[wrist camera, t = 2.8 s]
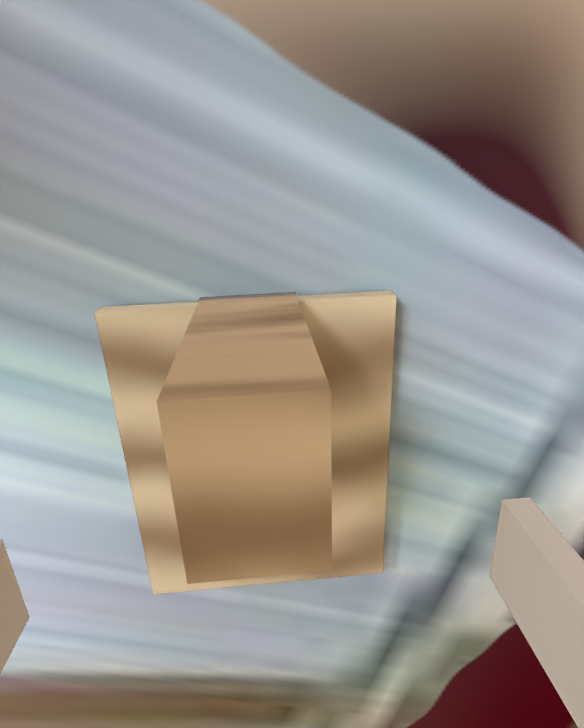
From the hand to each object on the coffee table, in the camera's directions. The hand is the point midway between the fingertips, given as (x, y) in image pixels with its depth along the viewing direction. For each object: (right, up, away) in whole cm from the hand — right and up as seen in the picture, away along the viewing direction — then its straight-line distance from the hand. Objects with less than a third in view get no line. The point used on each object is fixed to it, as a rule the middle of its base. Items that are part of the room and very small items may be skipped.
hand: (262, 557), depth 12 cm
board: (-1, 0, +17) cm, 17 cm away
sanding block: (-1, +6, +13) cm, 14 cm away
